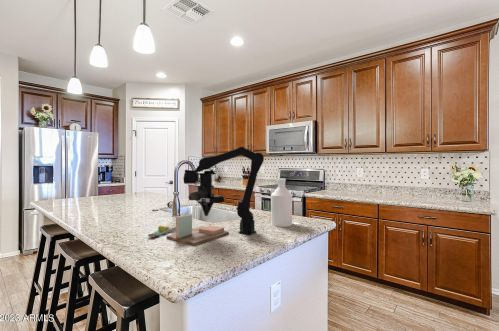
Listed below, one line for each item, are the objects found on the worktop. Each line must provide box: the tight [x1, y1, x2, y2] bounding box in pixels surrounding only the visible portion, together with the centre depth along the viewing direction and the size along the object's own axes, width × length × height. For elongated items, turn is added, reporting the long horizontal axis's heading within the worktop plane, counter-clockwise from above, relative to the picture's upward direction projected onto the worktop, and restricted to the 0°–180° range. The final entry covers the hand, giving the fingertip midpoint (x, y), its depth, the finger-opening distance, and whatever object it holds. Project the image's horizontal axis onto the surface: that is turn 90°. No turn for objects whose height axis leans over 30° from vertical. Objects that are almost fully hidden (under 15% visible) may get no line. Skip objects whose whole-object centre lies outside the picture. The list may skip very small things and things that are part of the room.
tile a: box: [199, 225, 225, 235], centre depth 128 cm, size 2×8×9 cm
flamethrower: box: [147, 225, 176, 238], centre depth 134 cm, size 29×3×10 cm
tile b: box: [175, 213, 193, 238], centre depth 121 cm, size 2×8×9 cm, turn 144°
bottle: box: [270, 178, 293, 228], centre depth 147 cm, size 12×12×25 cm
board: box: [166, 226, 230, 246], centre depth 124 cm, size 18×22×1 cm
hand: (206, 215), depth 130 cm, fingers closed
